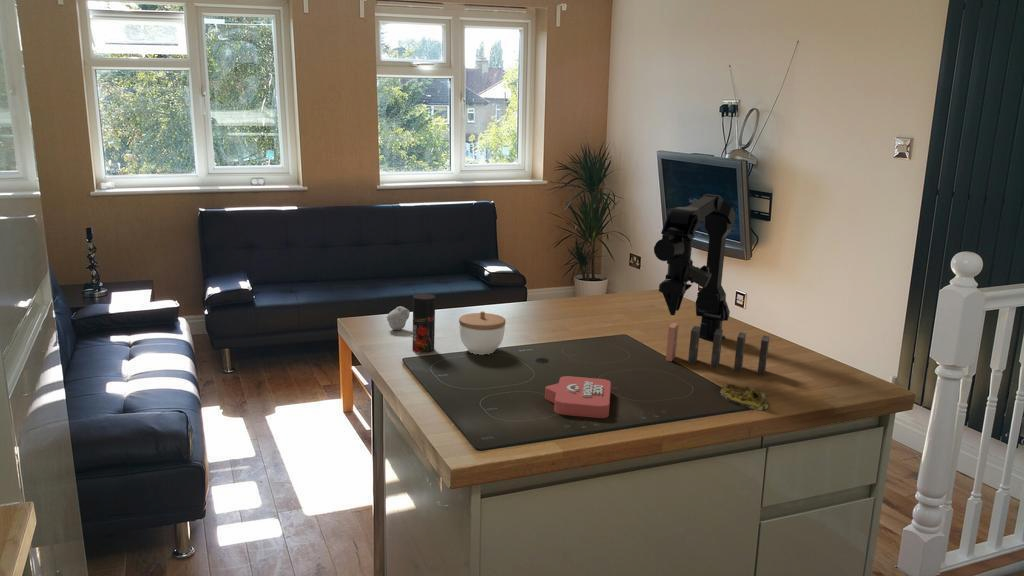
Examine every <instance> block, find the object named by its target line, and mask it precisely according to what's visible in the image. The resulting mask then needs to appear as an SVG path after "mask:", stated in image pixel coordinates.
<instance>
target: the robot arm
mask: <svg viewBox="0 0 1024 576" xmlns="http://www.w3.org/2000/svg"><path fill="white" fill-rule="evenodd" d="M702 219H703V220H704V226H703V227H704V229H705V231H706V233H707V235H708V245H707V257H706V265H705V264H704V265H703V266H701V267H699V266H695V265H693V263H694V261H693V259H692V250H693V239H695V238H696V237H695V233H696V232H697V229H698V228H699V227H700V221H701V220H702ZM735 222H736V211H735V209H734V208H733V206H732V205H731V204H729V203H728V202H727V201H725V200H724V199H723V197H722V196H720V195H717V194H711V193H710V194H709V193H705V194H703V195H702V196H701V197H700V198H698V200H696V201H694V202H693V203H691V204H689V205H688V206H678V207H674V208H672V209H671V210H670V212H669V213H668V215H667V217H666V220H665V222H664V225H663V227H662V229H661V231H660V232H661V233H660V234H661V235H662V236H661V237H662V238H661V239H659V240H658V241H657V242H655V245H654V246H653V253H654V256H655V257H656V258H657V259H658V260H659V261H662V262H666V265H667V273H666V274H665V279H664V280H663V281H662V282H661V283H659V286H658V292H660V293H662V295H663V297H664V301H665V303H666V306H667V309H668V311H669V314H670V316H675V315H676V312H677V311H680V308H681V306H682V301H683V299H684V296H685V293H686V291H687V290H689V289H690V288H691V287H692V286H693V284H697V285H698V286H699V287H701V289H700V290H698V292H697V295H696V296H697V297H696V300H695V315H696V317H700V318H701V322H700V336H699V338H701V339H704V340H705V339H706V340H709V341H712V342H713V339H714V333H715V331H716V330H717V329H721V330H723V329H722V328H723V322H724V321H726V322H727V321H729V318H730V315H731V311H730V309H729V306H728V303H727V294H726V291H725V290H724V287H723V286H722V282H723V270H724V259H725V251H726V242H727V241H726V240H727V237H728V235H729V233H730V232H731V231H732V230H733V229H734V228H733V227H734V223H735ZM688 282H690V283H691V284H690V283H688ZM722 339H726V335H723V334H722Z"/></svg>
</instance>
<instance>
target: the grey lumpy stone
mask: <svg viewBox="0 0 1024 576" xmlns="http://www.w3.org/2000/svg"><path fill="white" fill-rule="evenodd" d="M409 317H410V310H409V309H408V308H406V307H404V306H397V307H395V309H393V310H392V311H389V313H388V314H387V316H386V320H387V322H388V325H389V327H390V328H391V330H394V331H401V330H403V329H404V328H405V326H406V324H407V323H406V322H407V320H409Z"/></svg>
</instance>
